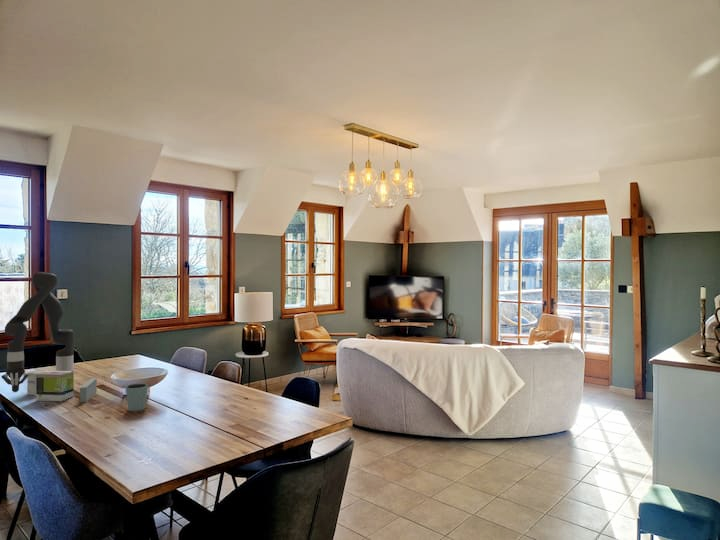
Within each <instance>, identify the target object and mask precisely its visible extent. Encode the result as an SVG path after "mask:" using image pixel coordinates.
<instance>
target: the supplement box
mask: <svg viewBox="0 0 720 540" xmlns="http://www.w3.org/2000/svg"><path fill="white" fill-rule="evenodd" d="M43 372H46V370H39V369H38V370H33V371H28V372H27V374H30V375H29V376H28V377H27V378H26V380H27V385H26V387H27V388H26V390H27V392H26V395H28V396H29V395H31V396H35V397H36V374H39V373H43Z"/></svg>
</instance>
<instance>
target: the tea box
mask: <svg viewBox="0 0 720 540" xmlns="http://www.w3.org/2000/svg"><path fill="white" fill-rule="evenodd" d="M45 371H46V370H45ZM74 387H75V385H74V370H73V371H56V370H47V371H46V372H43V373H39V374H36V396H35V397H36V401H40V402H41V401H44V402H64V401H66V399H67V400H69V399H68V398H70V399H72V398H74V392H75V391H74V390H75V389H74ZM71 397H72V398H71ZM63 400H64V401H63Z"/></svg>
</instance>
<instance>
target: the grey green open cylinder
mask: <svg viewBox="0 0 720 540" xmlns="http://www.w3.org/2000/svg"><path fill="white" fill-rule="evenodd" d="M148 386H149V385H148V384H147V383H142V382H140V383H139V382H138V383H133V384H129V385H126V386H125V392H126V402H127V410H128V411H129V412H140V411H139V410H141V411H144V410H146V409H147V398H148V397H147V396H148ZM145 408H146V409H145Z"/></svg>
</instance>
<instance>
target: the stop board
mask: <svg viewBox="0 0 720 540" xmlns="http://www.w3.org/2000/svg"><path fill="white" fill-rule="evenodd" d="M97 379H98V378H96V377H95V378H93V377H91V378H89V380H87V381H86V382H85V383H84V384H82V385H81V386H80V387H79V403H80V402H82V403H88V402H89V400H90V399H91V398H92V397H93V396H94V395H95V394H96V393H97V391H98V390H97V387H98V385H97V381H98V380H97Z"/></svg>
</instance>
